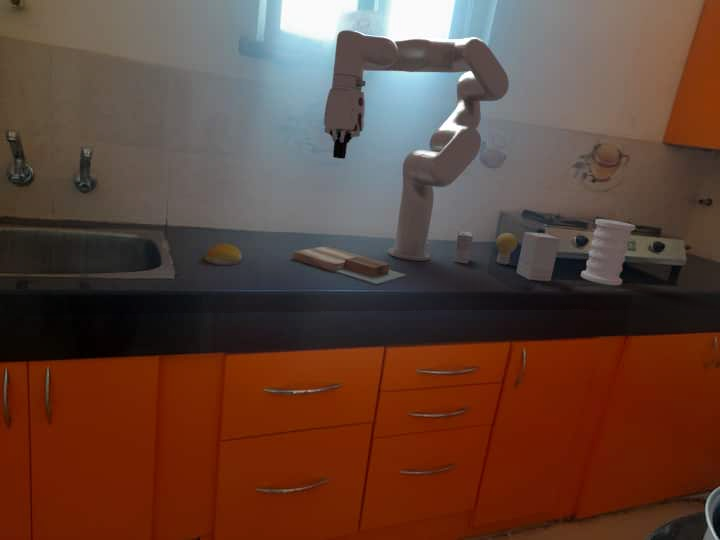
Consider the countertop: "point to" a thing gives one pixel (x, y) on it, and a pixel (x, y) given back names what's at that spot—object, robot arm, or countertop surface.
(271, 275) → the countertop surface
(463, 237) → the medicine box
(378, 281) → the teal mat
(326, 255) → the ash deck
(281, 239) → the countertop surface
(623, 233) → the decorative container
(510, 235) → the light bulb
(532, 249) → the supplement box
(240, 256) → the bread roll
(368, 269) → the walnut tile
